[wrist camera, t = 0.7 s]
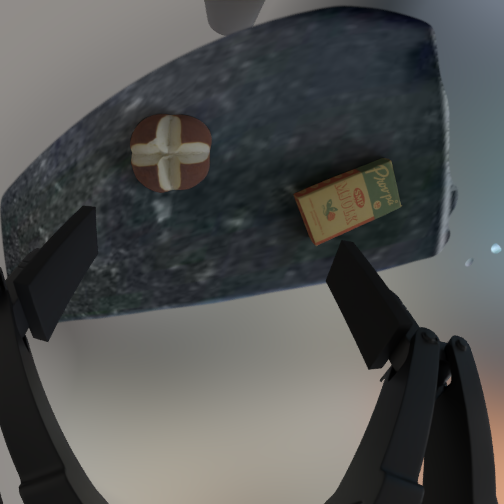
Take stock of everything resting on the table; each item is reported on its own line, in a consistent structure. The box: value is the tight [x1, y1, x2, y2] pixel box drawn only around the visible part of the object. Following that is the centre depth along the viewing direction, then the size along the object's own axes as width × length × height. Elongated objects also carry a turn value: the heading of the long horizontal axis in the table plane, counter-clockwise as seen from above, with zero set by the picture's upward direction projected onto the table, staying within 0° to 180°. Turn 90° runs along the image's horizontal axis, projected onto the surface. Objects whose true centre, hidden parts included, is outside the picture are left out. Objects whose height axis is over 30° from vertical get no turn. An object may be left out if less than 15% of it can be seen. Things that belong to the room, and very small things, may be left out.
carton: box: [293, 158, 401, 245], centre depth 41 cm, size 8×16×4 cm, turn 113°
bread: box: [130, 114, 212, 193], centre depth 35 cm, size 11×11×5 cm
